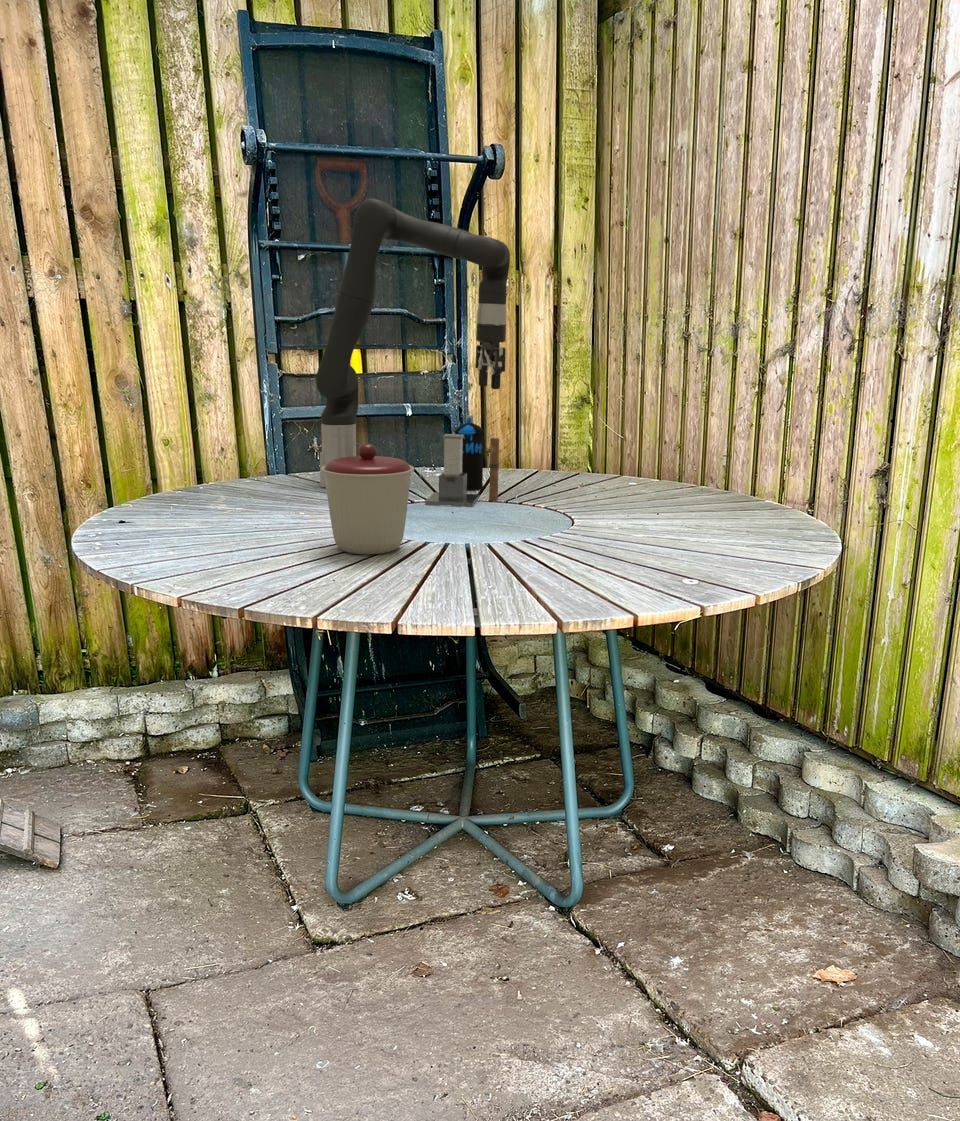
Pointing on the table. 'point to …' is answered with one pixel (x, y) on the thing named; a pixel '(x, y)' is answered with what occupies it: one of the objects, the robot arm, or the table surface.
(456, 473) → the grey-green long block
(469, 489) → the aerosol can
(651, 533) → the table surface
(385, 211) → the robot arm
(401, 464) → the canister
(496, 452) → the banded wooden rod
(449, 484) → the stand base
